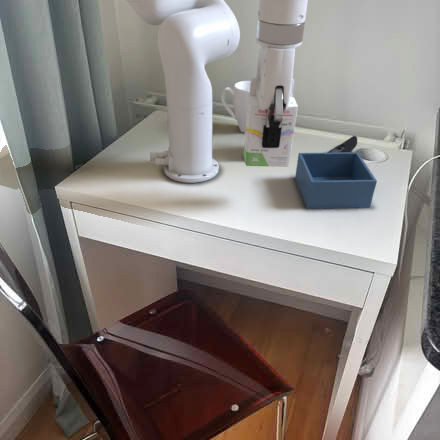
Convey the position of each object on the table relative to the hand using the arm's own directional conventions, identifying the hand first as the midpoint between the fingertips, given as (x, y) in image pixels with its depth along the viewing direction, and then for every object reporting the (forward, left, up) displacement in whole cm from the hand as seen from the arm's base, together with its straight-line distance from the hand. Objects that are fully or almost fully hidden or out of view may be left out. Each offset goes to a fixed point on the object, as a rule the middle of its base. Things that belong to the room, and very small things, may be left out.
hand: (268, 139), depth 86 cm
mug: (-1, +39, -14) cm, 41 cm away
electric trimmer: (+21, +21, -14) cm, 33 cm away
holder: (+15, +4, -13) cm, 21 cm away
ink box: (0, 0, -5) cm, 5 cm away
